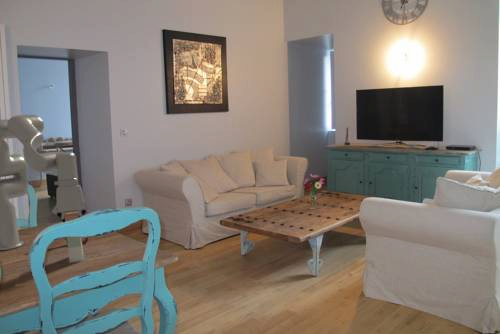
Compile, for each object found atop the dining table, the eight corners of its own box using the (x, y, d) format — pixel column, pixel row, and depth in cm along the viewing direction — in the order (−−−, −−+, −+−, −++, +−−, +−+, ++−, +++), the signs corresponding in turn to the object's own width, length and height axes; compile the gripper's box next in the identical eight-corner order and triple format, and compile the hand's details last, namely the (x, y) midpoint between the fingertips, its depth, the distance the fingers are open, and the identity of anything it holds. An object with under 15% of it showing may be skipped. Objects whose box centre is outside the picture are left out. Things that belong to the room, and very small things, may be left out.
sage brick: (69, 242, 189) (67, 228, 188) (81, 241, 191) (80, 227, 190) (68, 248, 182) (66, 233, 181) (81, 246, 183) (79, 232, 182)
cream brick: (70, 256, 190) (69, 242, 189) (83, 254, 192) (81, 241, 191) (69, 262, 182) (68, 248, 182) (83, 260, 184) (81, 246, 183)
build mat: (68, 258, 190) (67, 256, 190) (86, 255, 193) (86, 254, 192) (67, 264, 182) (66, 263, 182) (86, 262, 184) (85, 260, 184)
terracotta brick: (67, 226, 188) (65, 212, 187) (80, 225, 190) (78, 211, 189) (66, 231, 181) (64, 216, 180) (79, 229, 182) (78, 215, 181)
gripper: (44, 186, 176) (49, 232, 179) (90, 182, 182) (95, 226, 184) (46, 183, 183) (51, 227, 186) (90, 179, 189) (94, 222, 191)
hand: (73, 226), depth 185 cm, fingers closed on terracotta brick, 4 cm apart
